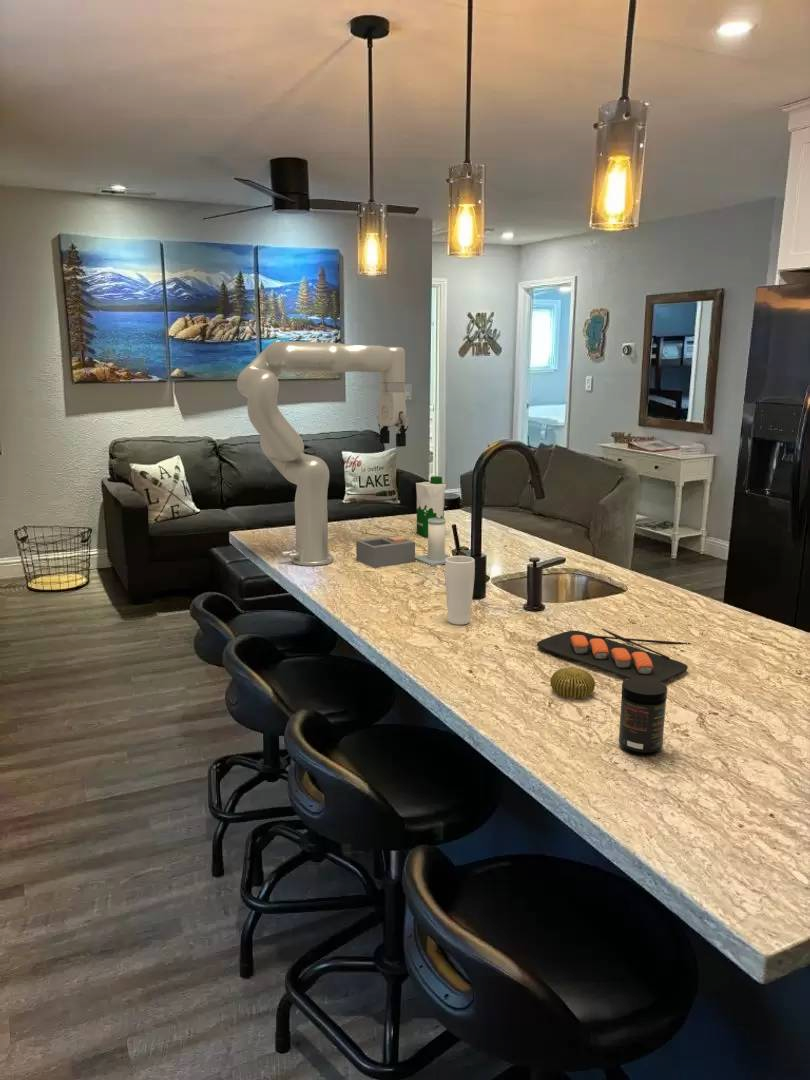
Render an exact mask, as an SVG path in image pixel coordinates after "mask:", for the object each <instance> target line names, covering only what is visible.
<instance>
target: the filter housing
mask: <svg viewBox="0 0 810 1080" xmlns="http://www.w3.org/2000/svg"><path fill="white" fill-rule="evenodd" d="M396 536H398V535H397V534H396V535H389V536H384V537H383V536H381V537H373V538H366V539H358V540H355V543H356V544H355V545H356V547H355V548H356V549H355V551H356V552H355V553H356V556H355V557H356V561H358V562H360V563H361V564H362V563H363V564H364V565H367V566H369V567H371V568H373V569H377V568H383V567H389V566H396V565H402V564H409V563H415V562H416V560H415V557H416V542H415V541H413V540H410V539H407V538H406V541H400V542H392V541H390V540H388V537H396Z"/></svg>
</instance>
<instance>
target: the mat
mask: <svg viewBox="0 0 810 1080" xmlns="http://www.w3.org/2000/svg"><path fill="white" fill-rule="evenodd" d="M448 557H451V556H450V555H447V554H445V559H444V560H439V561H434V560H429V559H428V554H426V555H425V554H424V555H418V556H415V561H416V560H417V561H416V562H418V561H419V563H421V562H422V563H421V564H423V563H425V564H424V565H426V564H427V566H428V565H430V566H429V567H431V566H434V567H438V566H437V565H440V566H443V565H442V564H445V562H446V558H448Z"/></svg>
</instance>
